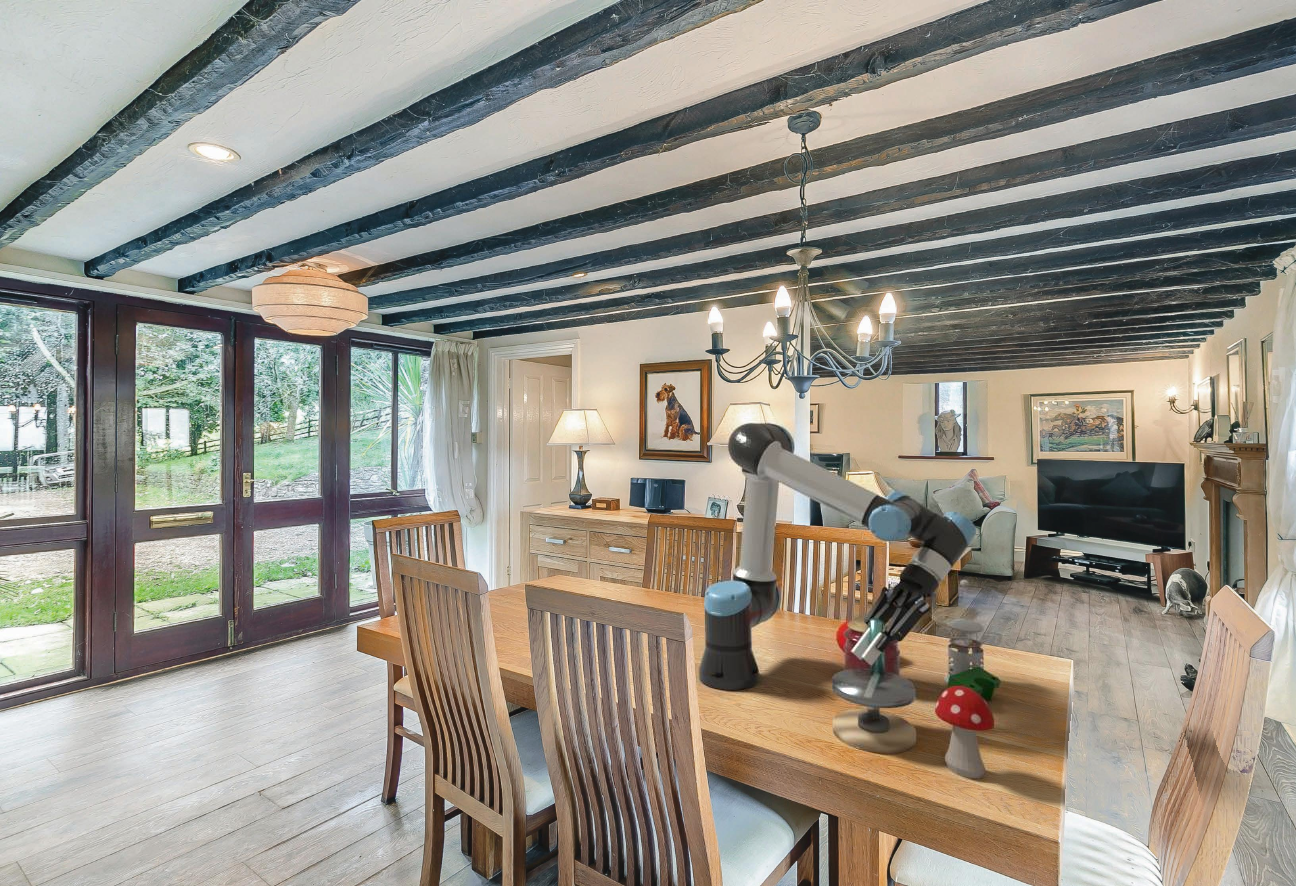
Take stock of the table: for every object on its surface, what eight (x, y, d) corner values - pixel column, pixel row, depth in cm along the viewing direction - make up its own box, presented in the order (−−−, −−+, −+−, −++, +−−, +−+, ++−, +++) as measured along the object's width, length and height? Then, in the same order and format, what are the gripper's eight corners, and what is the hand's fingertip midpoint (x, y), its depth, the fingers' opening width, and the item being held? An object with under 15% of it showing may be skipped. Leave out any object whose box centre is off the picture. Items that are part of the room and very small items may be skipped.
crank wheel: (912, 743, 115) (911, 646, 115) (825, 725, 122) (823, 635, 122) (919, 708, 129) (918, 623, 129) (840, 694, 137) (839, 614, 137)
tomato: (885, 668, 160) (884, 628, 160) (835, 663, 164) (835, 624, 164) (883, 651, 173) (882, 614, 173) (837, 647, 177) (836, 610, 177)
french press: (938, 682, 151) (936, 580, 151) (953, 668, 160) (951, 572, 160) (982, 692, 144) (980, 586, 144) (995, 678, 153) (994, 577, 153)
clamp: (970, 724, 138) (969, 695, 134) (946, 708, 143) (944, 680, 139) (1003, 695, 143) (1002, 666, 139) (978, 680, 148) (977, 652, 144)
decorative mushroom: (925, 765, 113) (923, 683, 113) (952, 751, 118) (951, 673, 118) (978, 790, 105) (977, 703, 105) (1005, 775, 109) (1004, 691, 109)
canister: (871, 697, 143) (870, 622, 143) (833, 678, 155) (832, 608, 154) (912, 688, 148) (911, 614, 148) (873, 669, 160) (872, 602, 160)
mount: (817, 722, 131) (817, 707, 131) (881, 711, 135) (881, 697, 135) (864, 759, 116) (864, 743, 116) (934, 745, 120) (934, 730, 120)
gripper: (962, 592, 128) (897, 682, 124) (909, 577, 144) (849, 656, 139) (940, 569, 127) (874, 659, 122) (889, 556, 142) (828, 636, 137)
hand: (861, 657), depth 130 cm, fingers closed on crank wheel, 3 cm apart
